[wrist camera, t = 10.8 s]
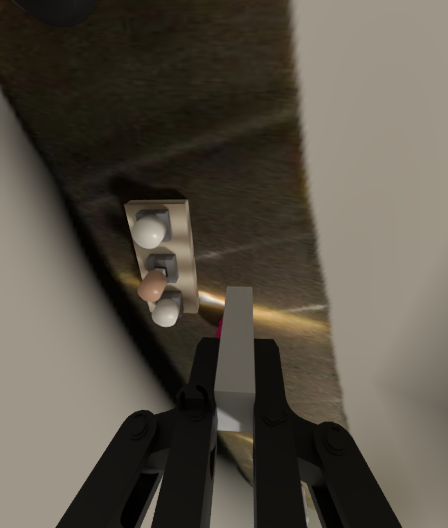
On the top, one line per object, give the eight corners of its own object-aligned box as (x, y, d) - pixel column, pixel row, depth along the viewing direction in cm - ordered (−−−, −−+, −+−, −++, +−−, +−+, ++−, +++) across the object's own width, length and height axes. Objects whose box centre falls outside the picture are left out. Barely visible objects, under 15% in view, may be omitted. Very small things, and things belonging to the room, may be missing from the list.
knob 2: (158, 291, 52) (149, 307, 48) (180, 291, 52) (174, 308, 47) (162, 309, 55) (154, 326, 50) (183, 309, 54) (177, 327, 50)
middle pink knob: (148, 263, 46) (135, 282, 40) (169, 263, 45) (158, 283, 40) (152, 281, 48) (140, 301, 42) (172, 281, 47) (162, 302, 42)
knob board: (130, 200, 46) (117, 209, 41) (187, 199, 45) (180, 208, 40) (154, 303, 58) (146, 319, 54) (199, 304, 57) (195, 320, 52)
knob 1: (141, 210, 43) (128, 220, 39) (168, 210, 43) (158, 220, 38) (146, 236, 46) (135, 248, 41) (172, 236, 45) (163, 248, 41)
